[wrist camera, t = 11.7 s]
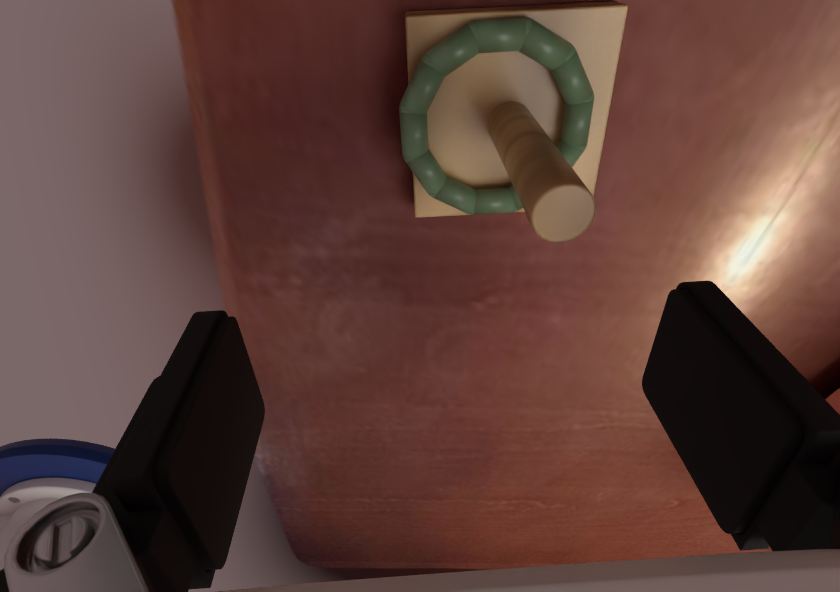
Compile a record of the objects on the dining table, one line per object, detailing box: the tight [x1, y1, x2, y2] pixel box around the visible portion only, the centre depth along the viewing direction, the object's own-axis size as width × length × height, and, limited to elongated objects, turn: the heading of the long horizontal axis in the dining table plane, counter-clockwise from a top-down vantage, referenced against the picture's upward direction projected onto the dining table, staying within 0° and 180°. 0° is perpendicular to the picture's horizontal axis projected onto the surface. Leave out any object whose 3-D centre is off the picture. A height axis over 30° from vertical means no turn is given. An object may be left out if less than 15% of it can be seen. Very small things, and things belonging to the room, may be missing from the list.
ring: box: [399, 17, 594, 215], centre depth 22 cm, size 8×8×1 cm
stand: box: [405, 1, 628, 242], centre depth 19 cm, size 9×9×10 cm
